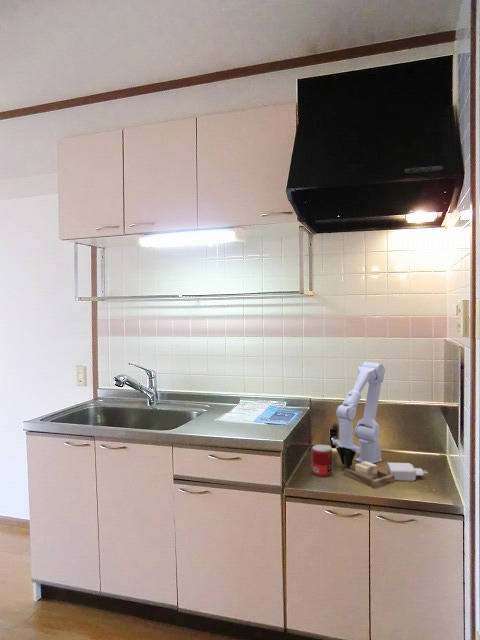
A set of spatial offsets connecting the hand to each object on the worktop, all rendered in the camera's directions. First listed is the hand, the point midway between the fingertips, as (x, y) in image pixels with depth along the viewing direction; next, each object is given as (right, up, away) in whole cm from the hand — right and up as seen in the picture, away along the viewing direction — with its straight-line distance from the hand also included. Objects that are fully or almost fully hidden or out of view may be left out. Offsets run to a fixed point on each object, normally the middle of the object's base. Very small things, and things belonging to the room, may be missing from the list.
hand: (346, 465), depth 199 cm
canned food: (-11, -3, -4) cm, 12 cm away
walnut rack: (+6, -2, -10) cm, 12 cm away
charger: (+23, -2, -10) cm, 25 cm away
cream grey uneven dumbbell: (+3, -2, -5) cm, 7 cm away
